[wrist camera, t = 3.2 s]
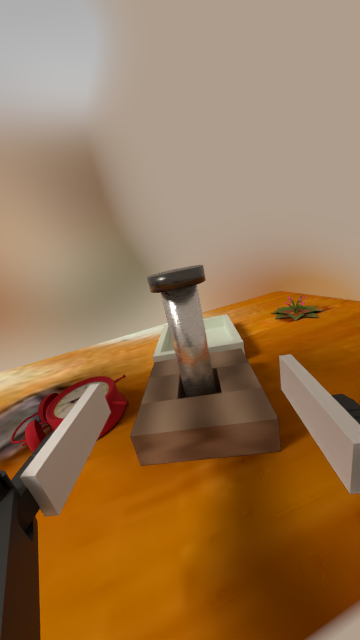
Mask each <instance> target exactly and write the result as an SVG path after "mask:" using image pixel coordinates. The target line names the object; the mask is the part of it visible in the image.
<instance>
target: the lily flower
mask: <svg viewBox="0 0 360 640" xmlns="http://www.w3.org/2000/svg"><path fill="white" fill-rule="evenodd" d="M302 296H303V295H302ZM302 296H301V297H302ZM288 297H289V296H288ZM301 297H300V299H301ZM304 298H306V297H304ZM288 299H290V300H291V302H292V303H291V302H290V303H291V304H292V305H293V306H290V305H289V304H288V303H285V304H288V305H289V307H281V308H278V310H276V311H274V312H273V313H282V314H278V315H277V316H276V318H275V319H277V318H283V317H284V316H285V315H286V314H288V315H289V316H285V317H292V318H293V319H295V321H296V320H297V319H299V318H300V317H317V318H319V317H318V316H317V314H316V313H311V312H312V311H322V310H320V309H317V308H315V306H304V307H303V306H302V305H303V304H304V303H305V302H304V303H302V304H300V303H301V302H302V301H301V300H302V299H301V300H300V299H299V300H300V301H301V302H300V301H299V300H298V302H297V304H296V306H294V305H295V304H294V302H293V301H292V299H291V298H290V297H289V298H288ZM295 301H296V300H295ZM299 302H300V303H299ZM298 303H299V304H300V305H299V304H298ZM297 305H298V306H297ZM293 311H294V313H297V311H299V312H303V313H300V314H297V315H294V314H290V313H291V312H293ZM304 313H306V315H307V316H302V315H304ZM271 314H272V313H271Z"/></svg>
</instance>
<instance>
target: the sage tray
mask: <svg viewBox="0 0 360 640" xmlns="http://www.w3.org/2000/svg"><path fill="white" fill-rule="evenodd" d="M203 321H204V327H205V332H206V338H207V343H208V349H209V353H214V352H221V351H227V350H233V349H239V348H242V350H243V352H244V354H245V351H244V342H243V340H242V339H241V337H240V335H239V333H238V332H237V330H236V328H235V327H234V325H233V323H232V322H231V320H230V318H229V316H228V315H221V316H216V317H210V318H205V319H203ZM153 359H154V363H155V362H159V361H165V360H171V359H177V358H176V354H175V350H174V346H173V342H172V338H171V334H170V330H169V325H166V326H164V328H163V330H162V333H161V336H160V339H159V341H158V344H157V347H156V350H155V352H154V355H153Z"/></svg>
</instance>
